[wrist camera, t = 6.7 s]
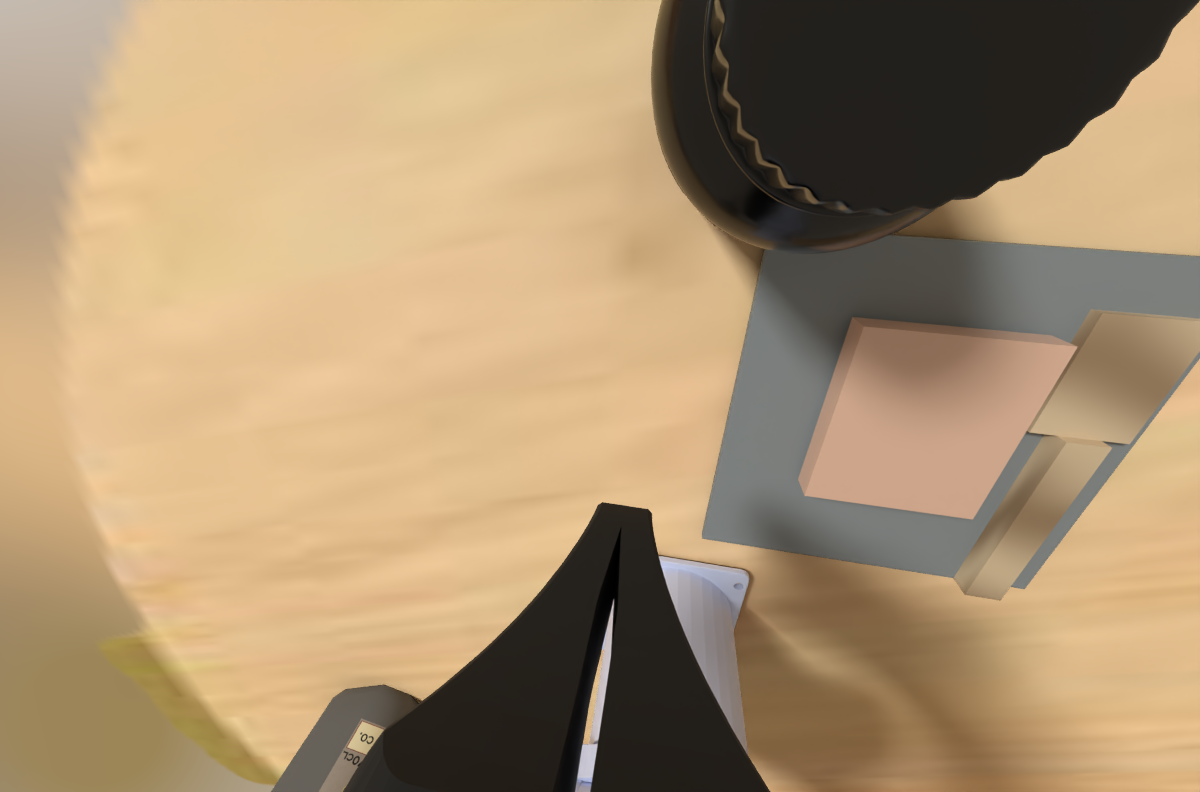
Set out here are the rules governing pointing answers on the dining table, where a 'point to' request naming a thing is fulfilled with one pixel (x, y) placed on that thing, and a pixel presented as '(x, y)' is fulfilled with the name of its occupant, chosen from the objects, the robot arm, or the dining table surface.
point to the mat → (919, 295)
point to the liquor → (343, 738)
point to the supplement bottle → (879, 103)
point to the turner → (1080, 433)
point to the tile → (927, 414)
